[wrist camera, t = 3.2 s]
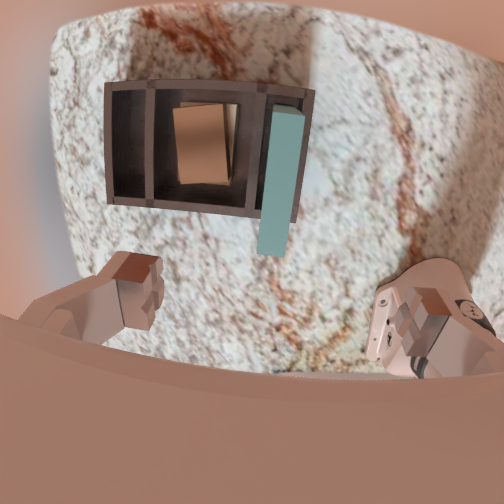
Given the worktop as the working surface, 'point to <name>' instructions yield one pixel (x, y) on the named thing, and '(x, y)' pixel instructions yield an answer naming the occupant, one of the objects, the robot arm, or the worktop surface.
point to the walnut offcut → (202, 143)
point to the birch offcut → (232, 131)
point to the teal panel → (280, 179)
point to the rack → (165, 151)
